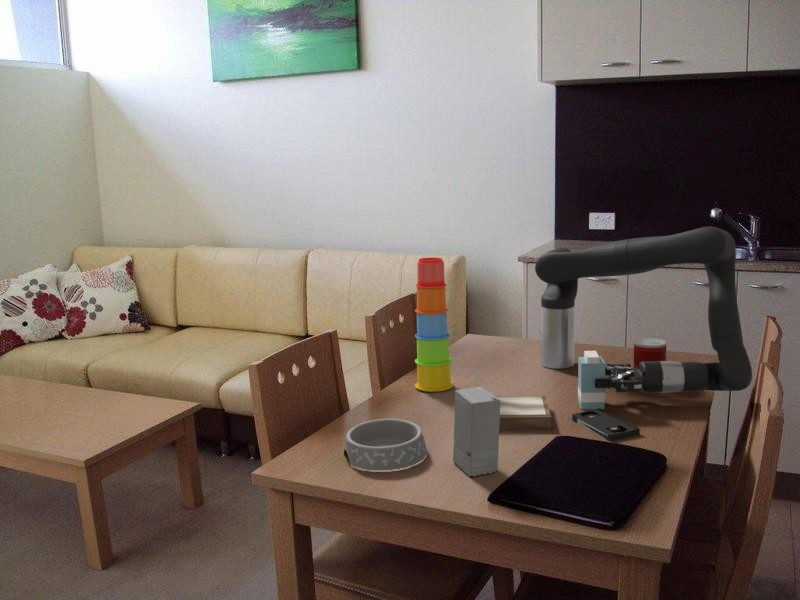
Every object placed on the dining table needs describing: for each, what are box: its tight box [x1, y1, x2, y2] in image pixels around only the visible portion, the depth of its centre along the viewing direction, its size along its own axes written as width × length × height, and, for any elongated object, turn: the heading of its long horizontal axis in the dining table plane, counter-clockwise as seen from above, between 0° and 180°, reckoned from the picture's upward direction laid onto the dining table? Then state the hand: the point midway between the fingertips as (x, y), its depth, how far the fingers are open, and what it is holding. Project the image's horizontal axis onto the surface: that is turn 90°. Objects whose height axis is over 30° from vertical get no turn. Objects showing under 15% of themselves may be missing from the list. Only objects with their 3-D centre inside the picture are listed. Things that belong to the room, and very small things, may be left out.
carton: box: [577, 350, 606, 410], centre depth 185 cm, size 6×6×13 cm
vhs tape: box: [571, 408, 641, 442], centre depth 172 cm, size 14×8×2 cm, turn 22°
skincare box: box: [452, 386, 500, 477], centre depth 153 cm, size 8×7×16 cm
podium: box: [494, 395, 552, 431], centre depth 179 cm, size 14×14×3 cm
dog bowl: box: [343, 418, 428, 470], centre depth 163 cm, size 17×18×5 cm
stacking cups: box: [414, 257, 454, 393], centre depth 201 cm, size 10×10×35 cm
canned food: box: [633, 337, 667, 369], centre depth 200 cm, size 8×8×11 cm
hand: (592, 377), depth 184 cm, fingers open, 8 cm apart
